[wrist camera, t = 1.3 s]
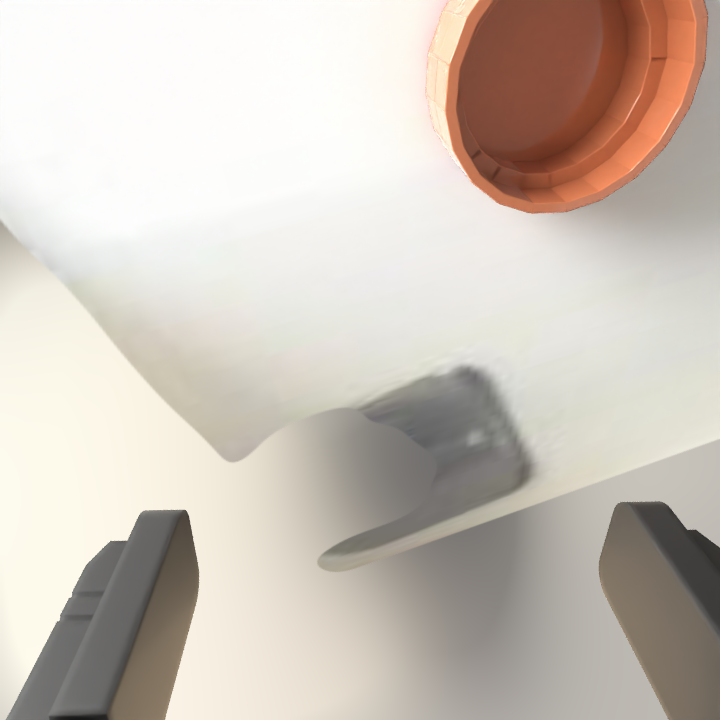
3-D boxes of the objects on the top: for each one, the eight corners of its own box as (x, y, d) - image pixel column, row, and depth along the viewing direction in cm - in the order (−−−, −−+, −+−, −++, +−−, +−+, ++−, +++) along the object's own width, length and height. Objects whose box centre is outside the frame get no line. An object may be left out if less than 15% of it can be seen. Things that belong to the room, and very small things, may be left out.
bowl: (398, -18, 28) (417, -15, 24) (647, -117, 27) (717, -133, 22) (450, 209, 35) (472, 243, 31) (647, 141, 34) (699, 167, 30)
